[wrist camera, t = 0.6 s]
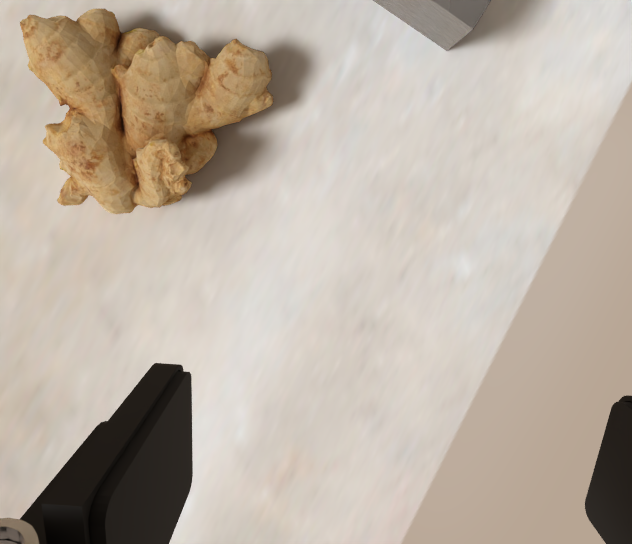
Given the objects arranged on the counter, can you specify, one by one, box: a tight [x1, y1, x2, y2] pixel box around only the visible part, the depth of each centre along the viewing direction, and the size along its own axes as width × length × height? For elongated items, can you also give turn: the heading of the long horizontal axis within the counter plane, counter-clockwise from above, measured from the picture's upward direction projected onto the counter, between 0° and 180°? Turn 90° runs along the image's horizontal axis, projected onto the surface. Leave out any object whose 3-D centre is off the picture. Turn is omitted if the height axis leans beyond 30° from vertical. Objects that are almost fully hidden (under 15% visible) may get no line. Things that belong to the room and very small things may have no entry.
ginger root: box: [20, 9, 274, 214], centre depth 31 cm, size 16×16×8 cm
